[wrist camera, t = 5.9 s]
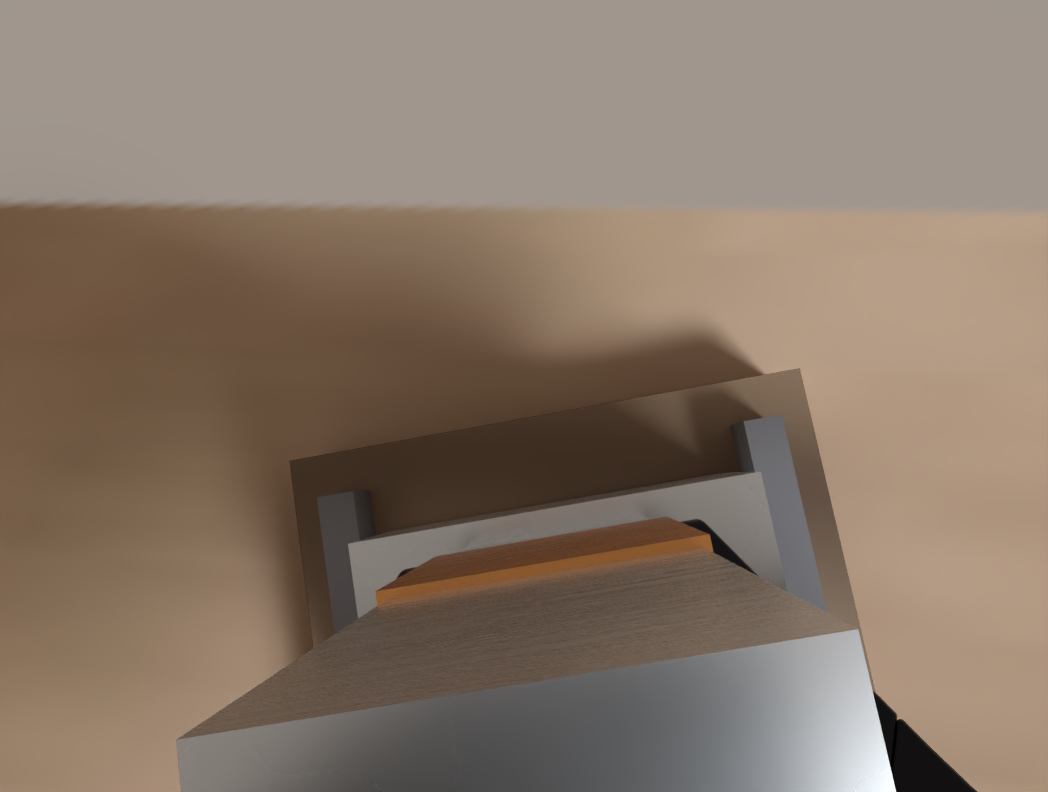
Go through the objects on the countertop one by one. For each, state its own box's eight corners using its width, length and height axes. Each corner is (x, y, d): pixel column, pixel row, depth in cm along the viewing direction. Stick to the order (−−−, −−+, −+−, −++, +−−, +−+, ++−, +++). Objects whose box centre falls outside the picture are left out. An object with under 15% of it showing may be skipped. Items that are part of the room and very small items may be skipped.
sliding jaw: (762, 656, 14) (1711, 1553, 2) (418, 712, 15) (-241, 1724, 3) (722, 472, 15) (1336, 454, 3) (391, 530, 15) (-257, 724, 3)
